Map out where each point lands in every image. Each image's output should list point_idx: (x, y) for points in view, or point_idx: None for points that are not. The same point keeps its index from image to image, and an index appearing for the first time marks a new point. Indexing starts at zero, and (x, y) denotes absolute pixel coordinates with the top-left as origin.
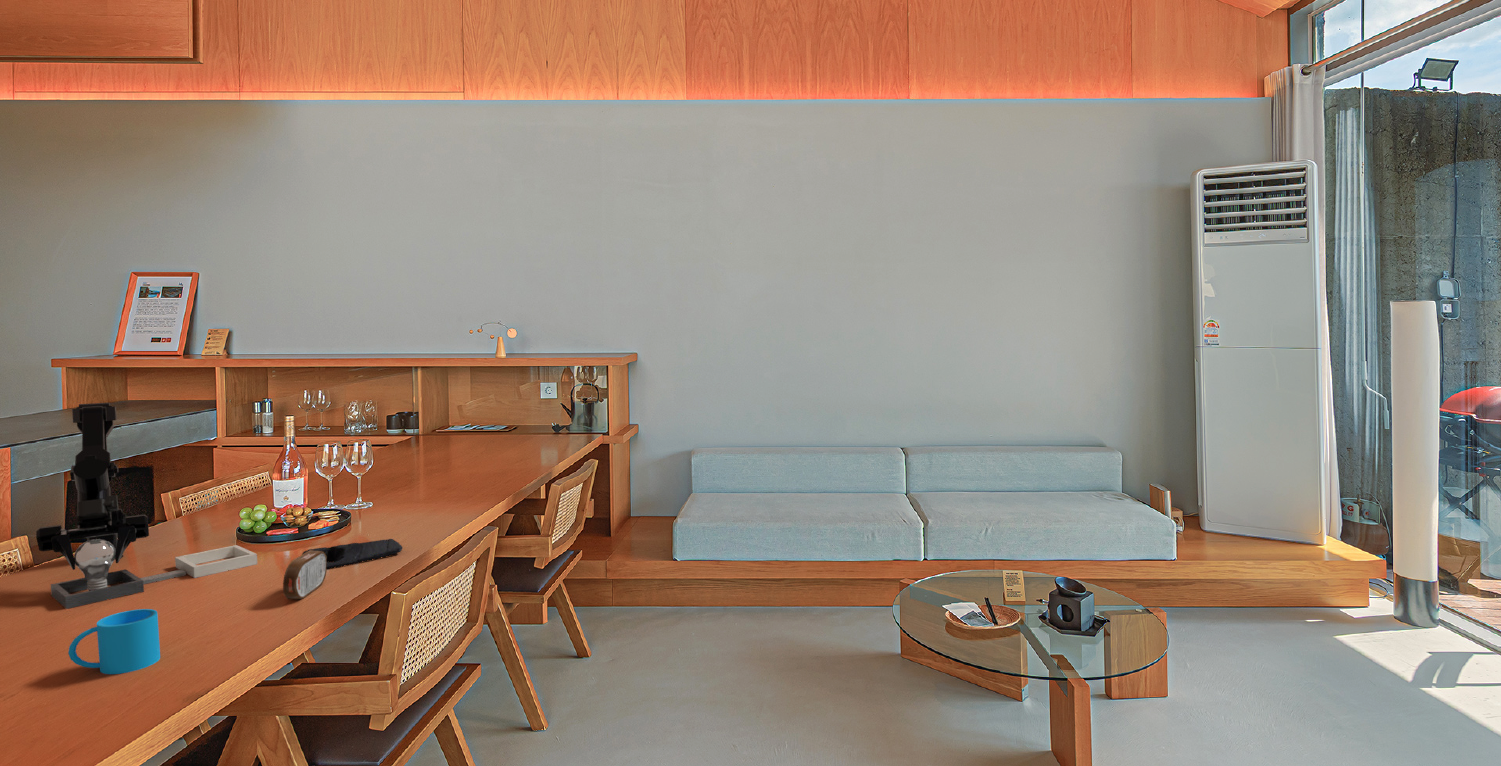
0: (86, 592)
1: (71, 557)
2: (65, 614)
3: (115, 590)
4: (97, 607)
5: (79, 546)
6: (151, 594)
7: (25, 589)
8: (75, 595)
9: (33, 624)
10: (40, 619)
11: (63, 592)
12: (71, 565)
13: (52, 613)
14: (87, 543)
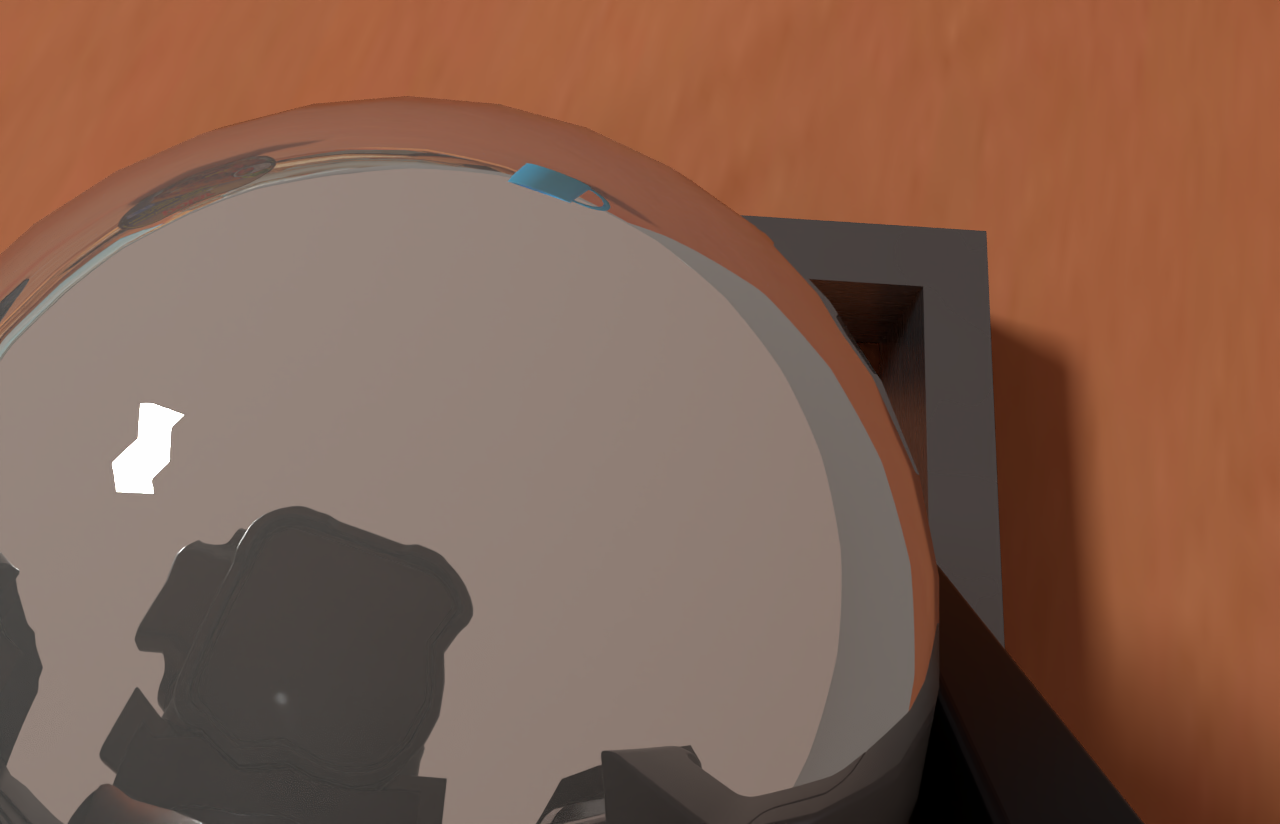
0: (769, 218)
1: (993, 694)
2: (972, 117)
3: None
4: (713, 92)
5: (851, 693)
6: (233, 87)
7: None
8: (881, 228)
9: (1226, 49)
10: (1166, 150)
11: (967, 476)
12: (949, 589)
13: (1057, 256)
14: (631, 360)
